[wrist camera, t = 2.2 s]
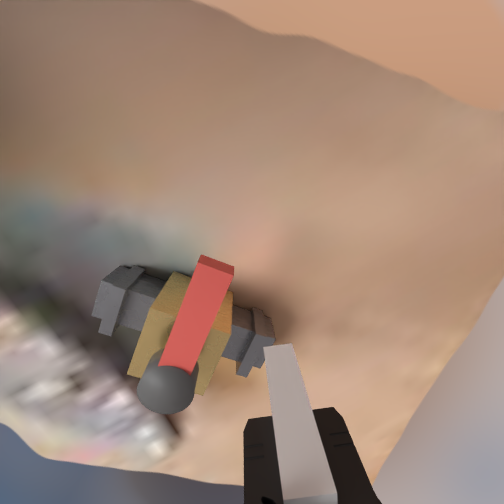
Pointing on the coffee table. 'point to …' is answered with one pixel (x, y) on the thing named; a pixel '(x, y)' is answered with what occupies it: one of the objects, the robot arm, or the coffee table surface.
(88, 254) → the coffee table surface
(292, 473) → the robot arm
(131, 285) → the valve
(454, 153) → the coffee table surface
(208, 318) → the lever
